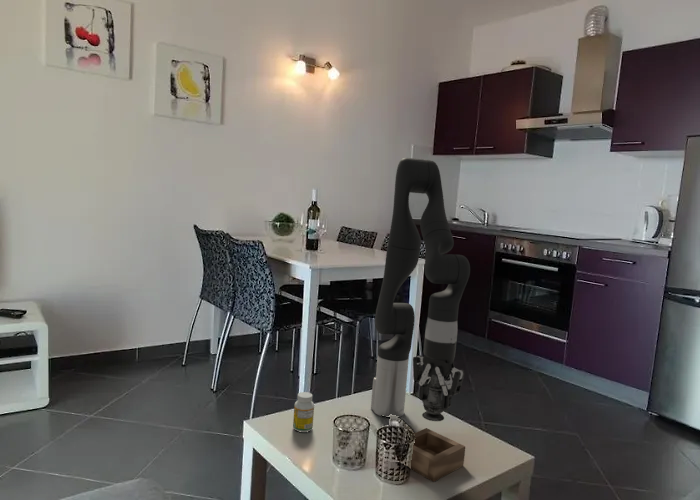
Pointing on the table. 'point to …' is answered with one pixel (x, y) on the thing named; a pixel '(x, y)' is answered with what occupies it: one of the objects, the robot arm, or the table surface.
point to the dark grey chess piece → (433, 401)
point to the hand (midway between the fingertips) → (434, 404)
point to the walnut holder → (435, 455)
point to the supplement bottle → (303, 412)
